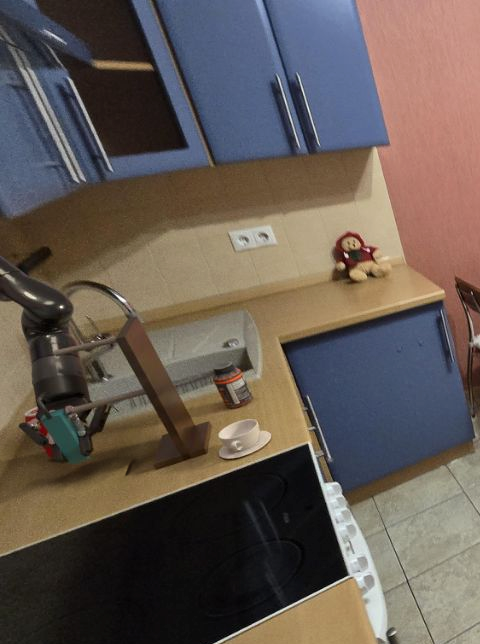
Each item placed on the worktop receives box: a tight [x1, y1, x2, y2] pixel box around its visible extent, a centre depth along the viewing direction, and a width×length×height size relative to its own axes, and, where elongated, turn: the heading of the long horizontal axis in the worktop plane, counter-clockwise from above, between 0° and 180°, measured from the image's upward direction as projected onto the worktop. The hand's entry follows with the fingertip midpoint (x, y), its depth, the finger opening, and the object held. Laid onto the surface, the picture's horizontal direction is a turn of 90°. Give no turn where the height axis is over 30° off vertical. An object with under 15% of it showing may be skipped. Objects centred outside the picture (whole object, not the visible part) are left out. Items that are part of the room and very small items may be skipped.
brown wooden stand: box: [54, 316, 213, 470], centre depth 113 cm, size 16×13×30 cm
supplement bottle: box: [212, 360, 254, 409], centre depth 135 cm, size 6×6×11 cm
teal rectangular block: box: [35, 392, 93, 466], centre depth 105 cm, size 3×4×15 cm
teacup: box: [217, 418, 272, 459], centre depth 119 cm, size 10×10×5 cm
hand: (74, 458), depth 106 cm, fingers closed on teal rectangular block, 3 cm apart
